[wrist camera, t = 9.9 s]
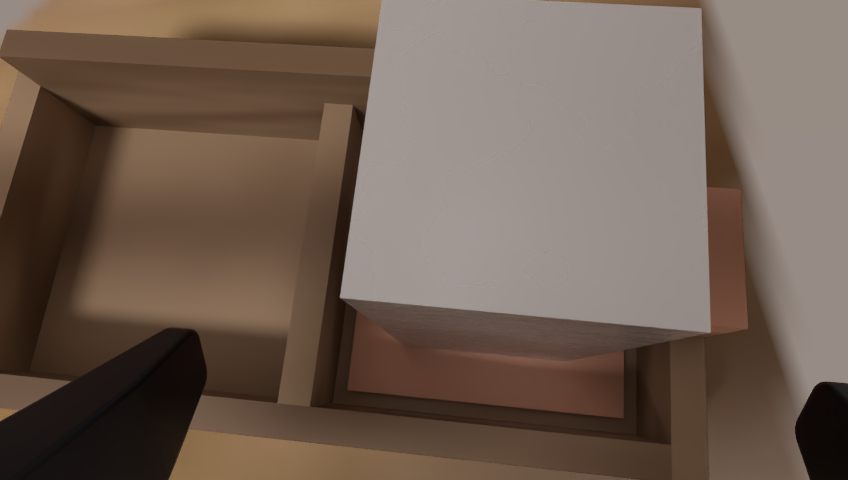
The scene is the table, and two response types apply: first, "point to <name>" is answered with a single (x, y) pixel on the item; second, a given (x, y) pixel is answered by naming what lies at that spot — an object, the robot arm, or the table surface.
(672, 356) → the divided wooden tray
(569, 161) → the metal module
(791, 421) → the table surface
